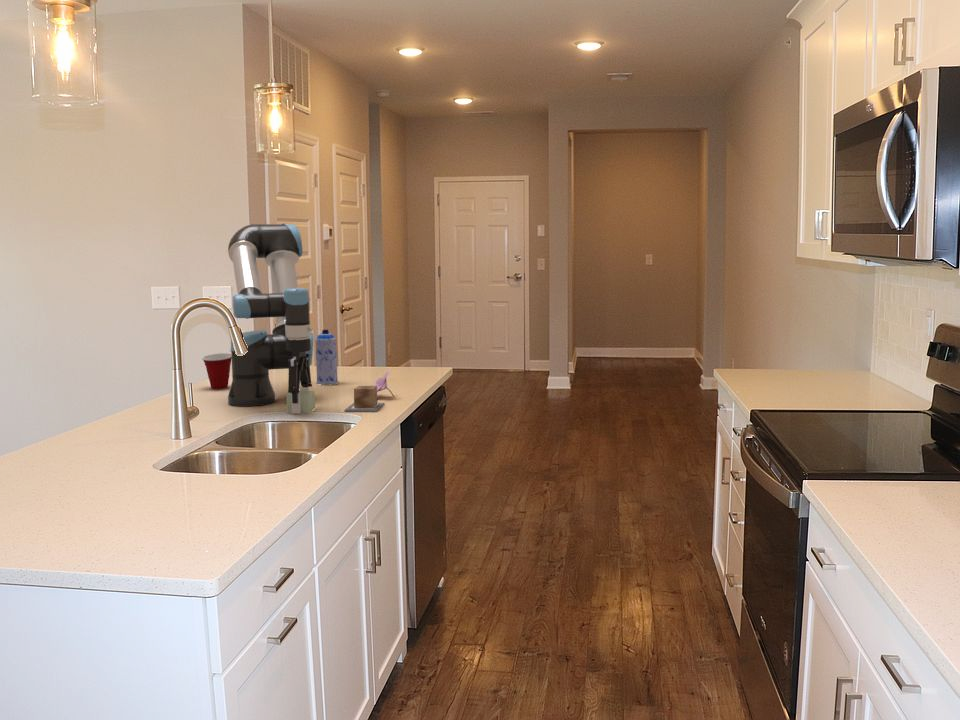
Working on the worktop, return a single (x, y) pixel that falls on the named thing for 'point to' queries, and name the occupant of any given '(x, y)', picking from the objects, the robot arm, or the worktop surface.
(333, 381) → the aerosol can
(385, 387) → the lily
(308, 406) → the sage block
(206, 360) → the plastic cup
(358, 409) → the slate build plate
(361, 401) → the walnut block
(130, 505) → the worktop surface
